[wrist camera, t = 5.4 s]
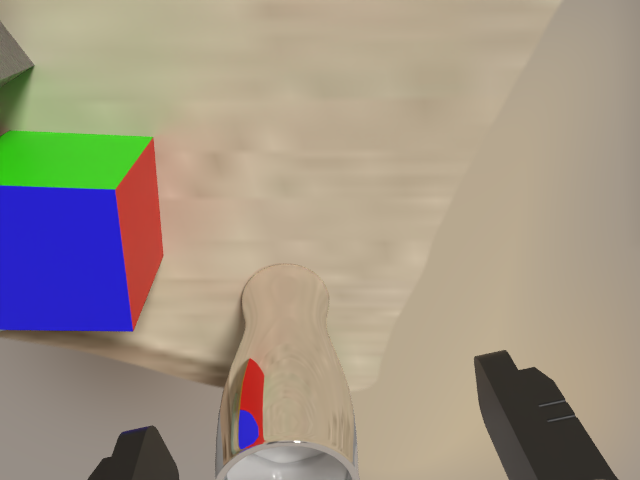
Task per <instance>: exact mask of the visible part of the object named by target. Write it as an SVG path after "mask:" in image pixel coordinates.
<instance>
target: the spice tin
mask: <svg viewBox="0 0 640 480" xmlns="http://www.w3.org/2000/svg"><path fill="white" fill-rule="evenodd" d="M33 66H34V64H33V63H32V61H31V60H30V59H29V58H28V56H27V55H26V54H25V52H24V51H23V50H22V49H21V47H20V46H19V45H18V43H17V42H16V41H15V40H14V38H13V37H12V36H11V34H10V33H9V32H8V31H7V29H6V28H5V27H4V25H3V24H2V23H1V22H0V87H1V86H3V85H4V84H6V83H7V82H9V81H11V80H12V79H14V78H15V77H17V76H19V75H20V74H22V73H23V72H25V71H26V70H28V69H30V68H31V67H33Z"/></svg>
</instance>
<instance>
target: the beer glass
mask: <svg viewBox="0 0 640 480" xmlns="http://www.w3.org/2000/svg"><path fill="white" fill-rule="evenodd" d="M328 310H329V293H328V290H327V288H326V286H325V284H324V282H323V281H322V279H321V278H320V277H319V276H318V275H317V274H316V273H314V272H313V271H311V270H309V269H307V268H305V267H302V266H299V265H295V264H277V265H273V266H269V267H267V268H264V269H262V270H261V271H259V272H258V273H256V274H255V275H254V276H253V277H252V278H251V279H250V280H249V281H248V283H247V284H246V286H245V288H244V291H243V294H242V311H243V316H244V321H245V331H244V335H243V337H242V340H241V343H240V345H239V348H238V350H237V353H236V355H235V358H234V361H233V363H232V366H231V368H230V371H229V374H228V377H227V381H226V384H225V387H224V391H223V395H222V400H221V406H220V411H219V418H218V428H217V438H216V463H215V480H360V479H359V473H358V454H357V453H358V452H357V437H356V426H355V418H354V410H353V405H352V400H351V395H350V390H349V386H348V383H347V380H346V377H345V374H344V371H343V368H342V366H341V363H340V361H339V358H338V356H337V353H336V351H335V349H334V346H333V344H332V342H331V339H330V336H329V334H328V330H327V315H328Z"/></svg>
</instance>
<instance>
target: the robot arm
mask: <svg viewBox="0 0 640 480" xmlns="http://www.w3.org/2000/svg"><path fill="white" fill-rule="evenodd" d="M474 365H475V373H476V382H477V391H478V400H479V406H480V410H481V414H482V417H483V420H484V423H485V426H486V428H487V431H488V433H489V435H490V438H491V440H492V442H493V444H494V447H495V449H496V451H497V453H498V456H499V458H500V460H501V463H502V465H503V467H504V469H505V472H506V474H507V476H508V478H509V480H618V479H617V477H616V476H615V475H614V473H613V472H612V470H611V469H610V467H609V466H608V464H607V463H606V461H605V459H604V458H603V456H602V455H601V453H600V452H599V450H598V449H597V447H596V446H595V444H594V443H593V441H592V439H591V438H590V436H589V435H588V434H587V432H586V430H585V429H584V427H583V426H582V424H581V422H580V421H579V419H578V418H576V416H575V413H574V412H573V410H572V409H571V407H570V406H569V404H568V403H566V401H565V398H564V396H563V395H562V393H561V392H560V390H559V389H558V387H557V386H556V384H555V382H554V381H553V380H552V379H550V378H549V377H547V376H546V375H545V374H543V373H542V372H541V371H539V370H538V369H536V368H535V367H532V368H528V369H523V370H518V369H517V367H516V365H515V364H514V362H513V360H512V359H511V357H510V355H509V354H508V352H507V351H506V350H503V351H498V352H494V353H489V354H484V355H479V356H475V357H474ZM88 480H179V473H178V469H177V466H176V464H175V462H174V460H173V458H172V456H171V455H170V452H169V451H168V449H167V447H166V445H165V443H164V441H163V439H162V437H161V436H160V434H159V432H158V430H157V429H156V427H154V426H148V427H143V428H138V429H134V430H129V431H125V432H122V433H121V434H120V436H119V438H118V440H117V443H116V445H115V448H114V451H113V454H112V457H108V458H104V459H102V461H101V462H100V463H99V465H98V466H97V467H96V469H95V470H94V472H93V473H92V474H91V475H90V477H89V478H88Z"/></svg>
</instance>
